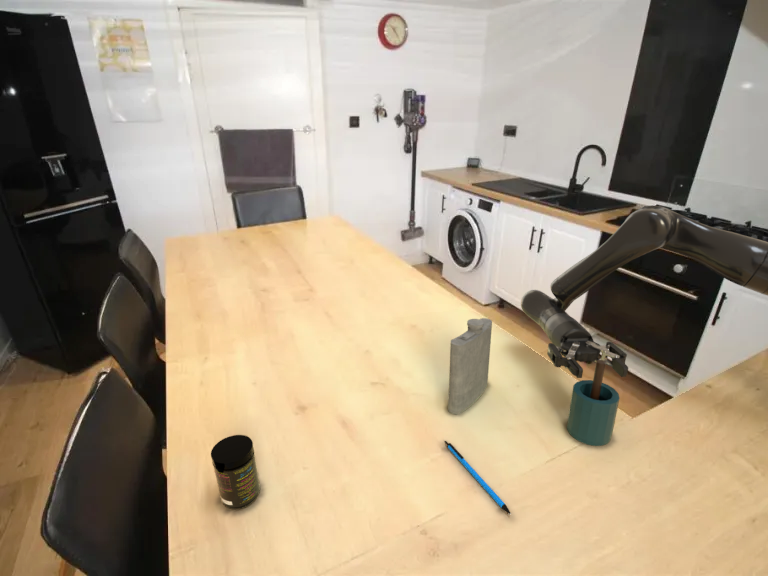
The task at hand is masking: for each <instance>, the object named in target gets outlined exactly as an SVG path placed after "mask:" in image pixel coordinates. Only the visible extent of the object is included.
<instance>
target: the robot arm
mask: <svg viewBox="0 0 768 576" xmlns="http://www.w3.org/2000/svg"><path fill="white" fill-rule="evenodd" d="M658 249H661V250H665V251H669V252H672V253H675V254H678V255H682V256H684V257H686V258H688V259H692V260H694V261H695V262H696V263H697V262H698V263H699V264H700V265H702V266H704V267H705V268H707V269H708V270H710V271H712V272H713V273H714V274H716V275H718V276H720V277H721V278H724V279H725V280H727V281H730V282H732V283H733V284H735V285H738V286H740V287H743V288H746V289H748V290H751V291H753V292H756V293H759V294H761V295H764V296H767V297H768V241H766V240H762V239H758V238H755V237H752V236H749V235H748V236H747V235H744V234H741V233H737V232H733V231H729V230H724V229H720V228H716V227H713V226H711V225H706V224H704V223H701V222H699V221H698V220H697V221H696V220H694V219H692V218H689V217H687V216H685V215H682V214H680V213H677V212H675V211H673V210H672V209H669V208H667V207H664V206H660V205H652V204H651V205H647V206H642V207H640V208H638V209H636V210H635V211H633V212H632V213H630V214H629V215H628V216H627V217H626V218H625V220H624V222H623V223H622V224H621V225H620V226H619V227H618V228H617V229H616V231H615V232H614V233H613V234H612V235H611V236H610V237H609V238H608V239H607V240H606V241H605V242H604V243H602V244H601V245H599V247H598V248H596V249H595V250H594V251H593V252H591V253H589V254H587V256H585V257H583V258H582V259H580V260H579V261H577V262H576V263H574V264H573V265H572V266H571V267H569V268H568V269H566V270H565V271H564V272H562V273H561V274H560V275H559V276H557V277H556V278H554V280H552V282H550V285H549V286H550V287H549V288H550V292H551V293H552V295H553V296H554V297H555V298H552V297H551V296H549V295H547V293H545V292H543V291H541V290H539V289H531V290H528V291H527V292H525V293H524V294H523V295H522V297H521V300H520V308H521V310H522V312H523V313H524V314H525V315H526V316H527V317H528V318H530V319H531V320H532V321H533V322H534V323H536V324H537V325H538V326H539V327H540V328H541V330H542V331H543V332H544V334H545V335H546V337H547V338H548V340H549V341H550V343H548V344H547V345H548V346H547V351H546V352H547V353H546V354H547V356H548V357H549V359H550V361H551V363H552V364H553V366H554V367H556V368H558V369H559V368H562V367H564V368H565V369H567V370H568V371H569V372H570V373H571V375H573V376H575V377H576V378H577V379H582V378H583V373H584V368H583V367H582V366H581V365H580V364H579V362H580V363H583V362H584V363H585V362H592V363H595V364H596V361H597V360H603V361H605V362H606V364H605V366H609V367H611V368H612V369H613V370H614V371H615V373H617V374H618V376H620V377H621V378H626V377H627V375H628V372H629V366H628V365H627V364H626V360H627V356H628V353H626V352H625V351H623V350H622V349H621V348H620V347H619V346H617V345H616V344H615V343H614V342H612V341H607V342H606V344H603V345H602V344H599V343H598V342H596V341H594V338H593V336H592V335H591V333H590V332H589V331H588V330H587V329H586V328H585V327H584V326H583V325H582V324H581V323H580V322H578V321H577V320H576V319H575V318H574V317H572V316H571V315H570V314H569V313H568V312H567V309H568V308H570V306H571V305H572V304H573V302H574V301H576V300H577V299H579V298H581V297H582V296H583V295H585V294H586V293H587V292H589V291H590V290H592V289H593V288H594V287H596V286H597V285H598V284H600V283H601V282H602V281H603V280H605V279H606V278H608V276H610V275H611V274H613V273H614V272H615V271H616V270H618V269H620V268H622V267H624V266H625V265H627V264H628V263H631V262H632V261H634V260H636V259H638V258H640V257H642V256H645V255H647V254H649V253H651V252H653V251H656V250H658ZM600 354H601V356H600ZM599 357H600V358H599ZM608 357H609V358H611V360H609V359H608Z"/></svg>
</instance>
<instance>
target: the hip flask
mask: <svg viewBox="0 0 768 576" xmlns="http://www.w3.org/2000/svg"><path fill="white" fill-rule="evenodd" d="M466 327H467V330H466V331H465V332H463V333H462V334H460V335H458V336H456V337H455V338H454V337H453V338H452V339H451V340H450V343H449V344H450V347H449V372H448V373H449V375H448V379H449V380H448V402H447V403H448V404H447V411H448V412H449V413H450V414H452V415H461V414H462V413H463V412H465V411H466V410H468V409H469V408H470V407H471V406H473V405H474V404H475V403H476V402H477V401H478V400H479V398H480V397H482V395H483V394H484V393H485V391H486V389H487V388H488V384H489V383H488V381H489V368H490V355H491V343H492V328H493V320H491V319H490V318H486V317H483V318H470V319H468V320H467V321H466Z"/></svg>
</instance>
